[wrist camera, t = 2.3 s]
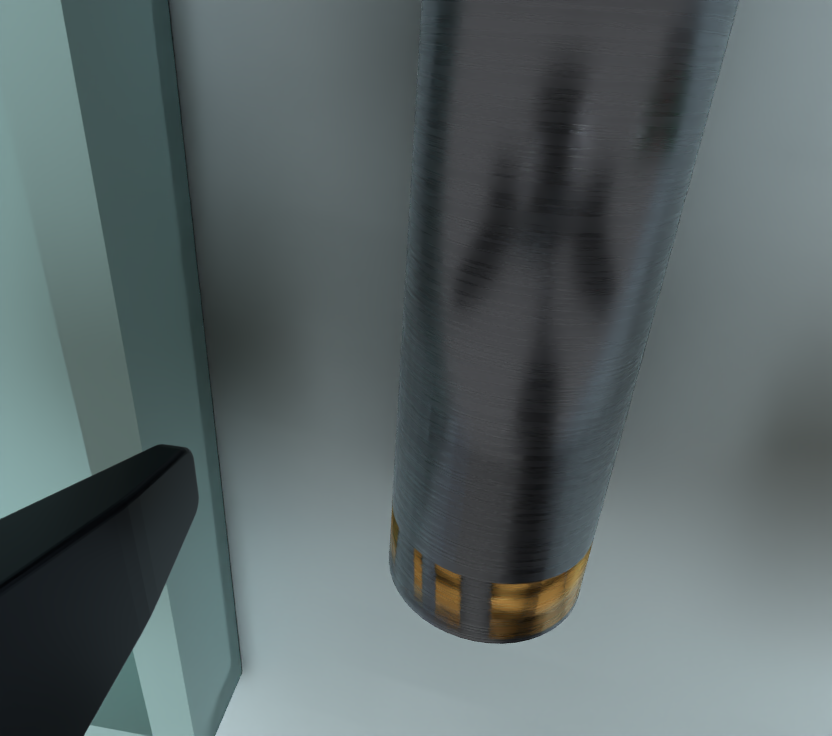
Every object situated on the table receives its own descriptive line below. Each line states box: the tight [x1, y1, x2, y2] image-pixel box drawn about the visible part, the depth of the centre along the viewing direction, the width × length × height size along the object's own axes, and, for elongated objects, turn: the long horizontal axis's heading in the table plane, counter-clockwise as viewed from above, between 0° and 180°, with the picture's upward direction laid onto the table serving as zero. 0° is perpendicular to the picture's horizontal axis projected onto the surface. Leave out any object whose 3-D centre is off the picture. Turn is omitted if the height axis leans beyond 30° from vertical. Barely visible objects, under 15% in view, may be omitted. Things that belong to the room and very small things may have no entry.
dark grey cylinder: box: [389, 0, 739, 644], centre depth 8 cm, size 14×3×3 cm, turn 176°
